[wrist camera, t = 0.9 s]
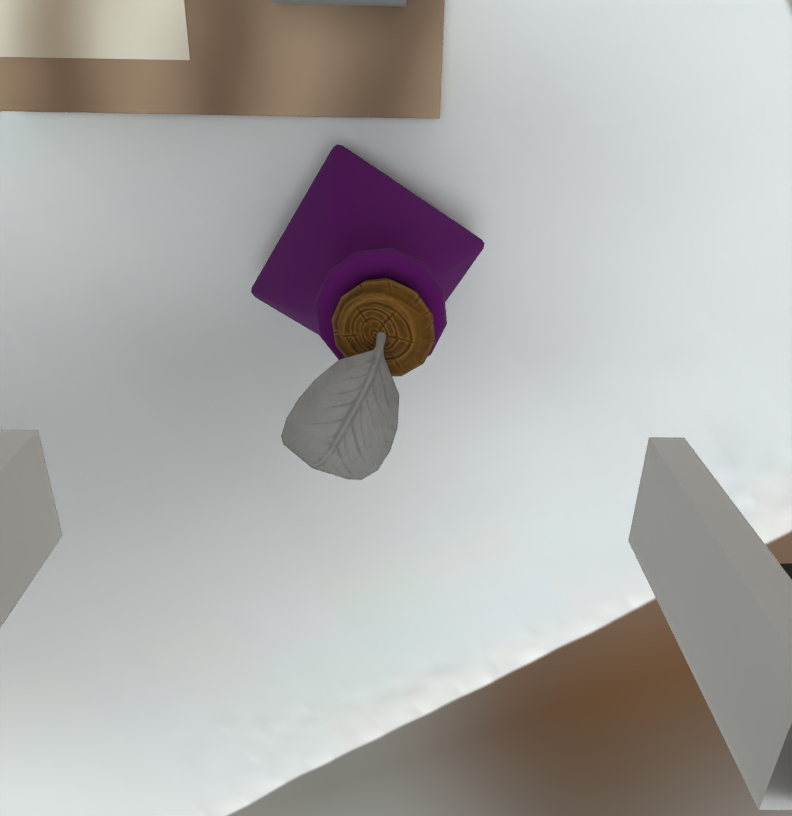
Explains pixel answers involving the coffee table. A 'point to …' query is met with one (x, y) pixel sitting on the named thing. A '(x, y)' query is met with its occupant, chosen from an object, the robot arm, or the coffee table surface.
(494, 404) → the coffee table surface
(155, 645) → the coffee table surface
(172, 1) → the display board
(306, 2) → the tea tin
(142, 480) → the coffee table surface
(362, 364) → the perfume bottle
